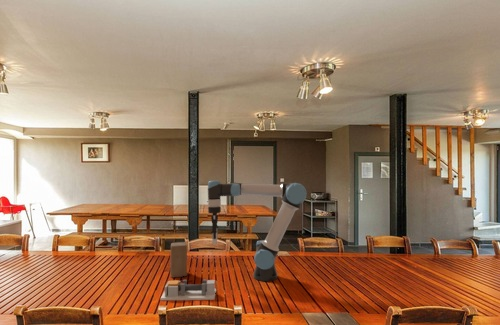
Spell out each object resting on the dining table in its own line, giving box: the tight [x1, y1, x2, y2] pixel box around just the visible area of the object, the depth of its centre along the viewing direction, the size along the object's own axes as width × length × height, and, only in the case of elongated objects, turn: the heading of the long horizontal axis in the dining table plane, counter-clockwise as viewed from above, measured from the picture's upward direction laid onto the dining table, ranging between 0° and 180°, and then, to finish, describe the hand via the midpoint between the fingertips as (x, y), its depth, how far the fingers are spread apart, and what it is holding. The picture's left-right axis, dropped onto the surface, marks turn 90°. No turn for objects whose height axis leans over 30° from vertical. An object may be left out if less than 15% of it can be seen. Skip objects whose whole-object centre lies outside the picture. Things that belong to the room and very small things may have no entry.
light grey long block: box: [160, 279, 217, 301], centre depth 167 cm, size 28×12×7 cm, turn 92°
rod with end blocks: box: [167, 279, 216, 295], centre depth 167 cm, size 24×5×6 cm, turn 92°
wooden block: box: [170, 241, 188, 278], centre depth 199 cm, size 10×10×20 cm
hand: (215, 241), depth 185 cm, fingers open, 13 cm apart
